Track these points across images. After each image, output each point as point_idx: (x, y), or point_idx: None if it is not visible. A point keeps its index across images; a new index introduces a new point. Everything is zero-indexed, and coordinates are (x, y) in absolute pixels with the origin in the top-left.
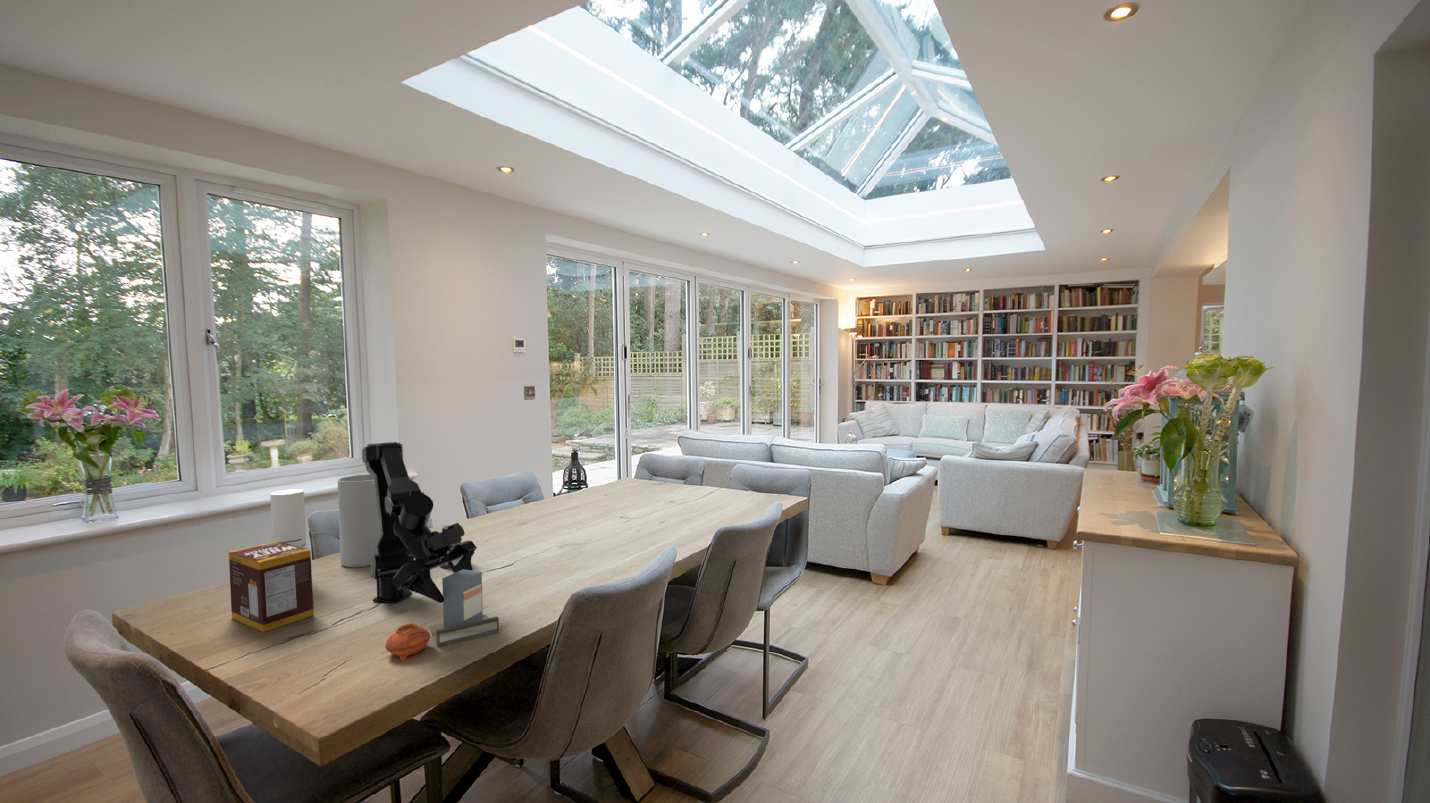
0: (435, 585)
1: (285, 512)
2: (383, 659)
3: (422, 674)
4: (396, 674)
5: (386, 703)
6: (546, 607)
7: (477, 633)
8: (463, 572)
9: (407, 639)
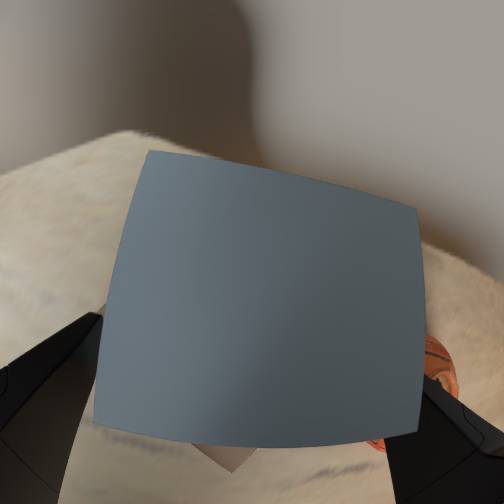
0: (446, 410)
1: None
2: None
3: (426, 286)
4: (440, 342)
5: (484, 277)
6: (14, 184)
7: None
8: (201, 350)
9: (450, 358)
